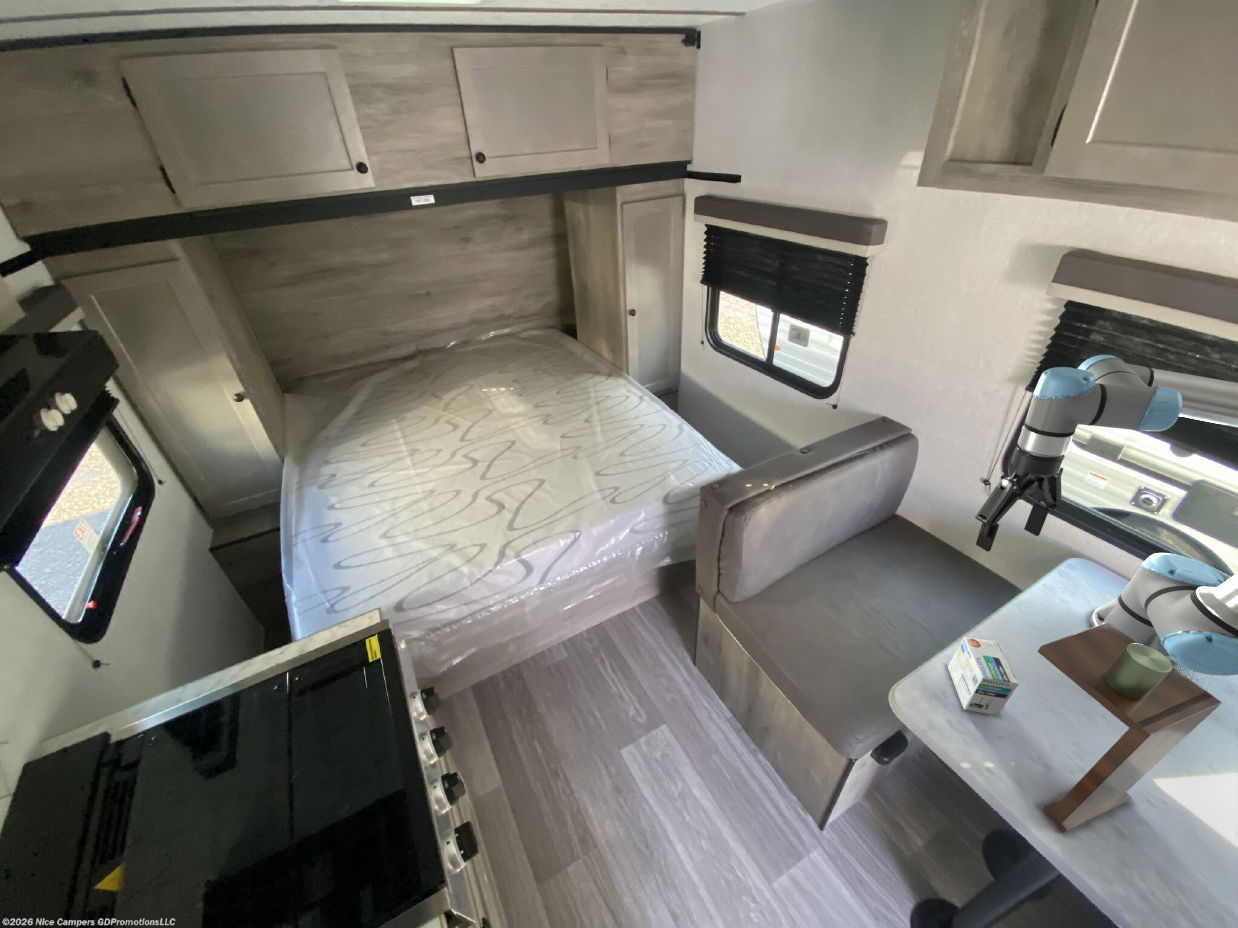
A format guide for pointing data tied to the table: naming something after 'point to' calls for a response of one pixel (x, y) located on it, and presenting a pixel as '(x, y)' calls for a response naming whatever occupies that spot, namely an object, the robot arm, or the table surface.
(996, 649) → the light bulb box
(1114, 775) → the shelf stand
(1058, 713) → the table surface
